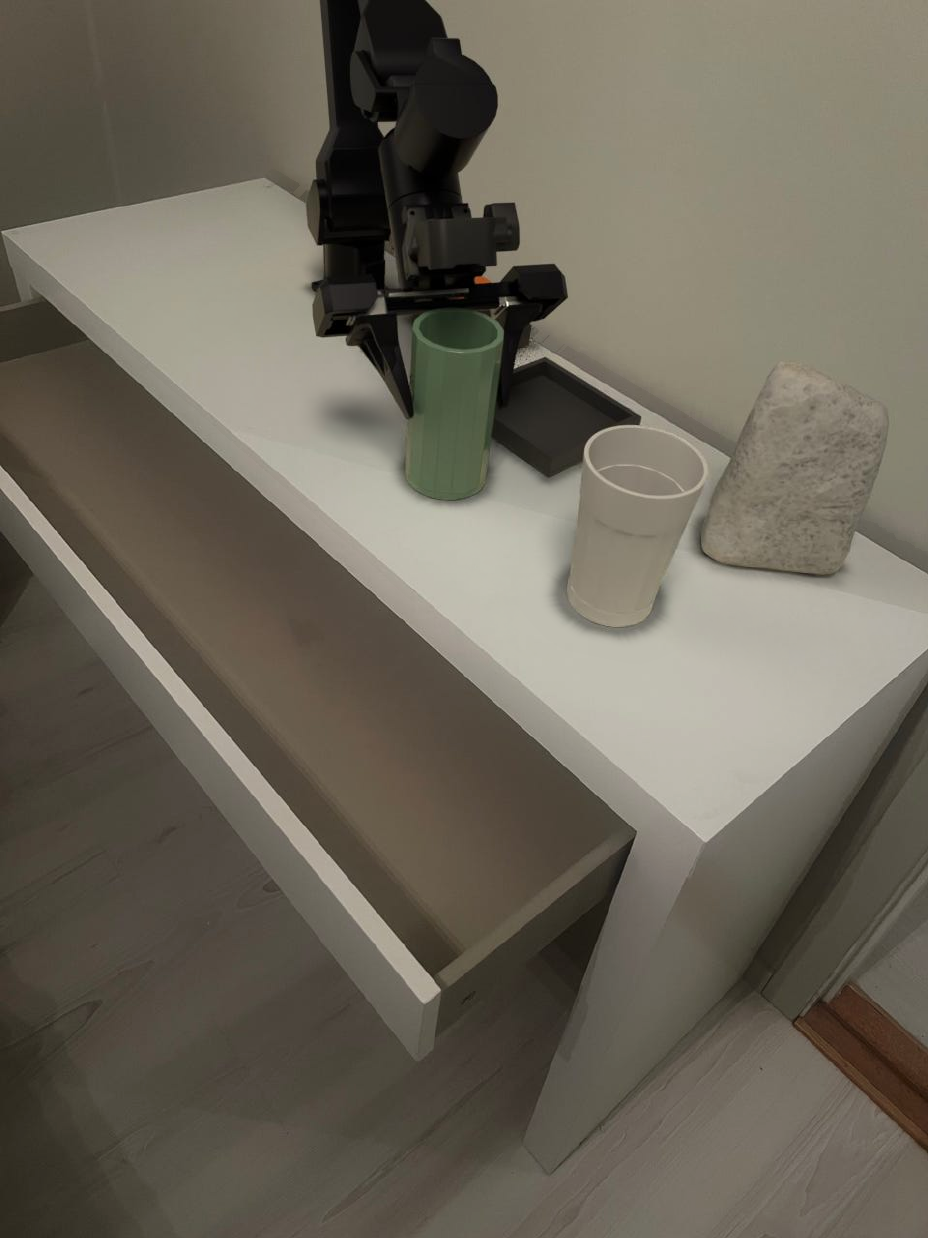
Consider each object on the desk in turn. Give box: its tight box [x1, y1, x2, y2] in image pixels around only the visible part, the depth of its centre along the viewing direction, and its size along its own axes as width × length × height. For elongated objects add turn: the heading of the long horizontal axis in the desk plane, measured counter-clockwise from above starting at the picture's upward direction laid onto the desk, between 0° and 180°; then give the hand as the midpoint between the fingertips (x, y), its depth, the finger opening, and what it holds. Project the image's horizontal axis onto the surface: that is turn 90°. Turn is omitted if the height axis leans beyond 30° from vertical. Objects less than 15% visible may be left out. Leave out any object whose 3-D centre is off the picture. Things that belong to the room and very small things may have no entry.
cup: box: [566, 424, 709, 628], centre depth 63 cm, size 8×8×12 cm
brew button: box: [458, 275, 492, 299], centre depth 91 cm, size 3×3×2 cm
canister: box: [404, 308, 504, 501], centre depth 72 cm, size 7×7×13 cm
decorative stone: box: [700, 360, 890, 575], centre depth 68 cm, size 11×6×15 cm, turn 78°
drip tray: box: [491, 356, 642, 479], centre depth 83 cm, size 12×11×2 cm
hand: (457, 413), depth 71 cm, fingers open, 7 cm apart
